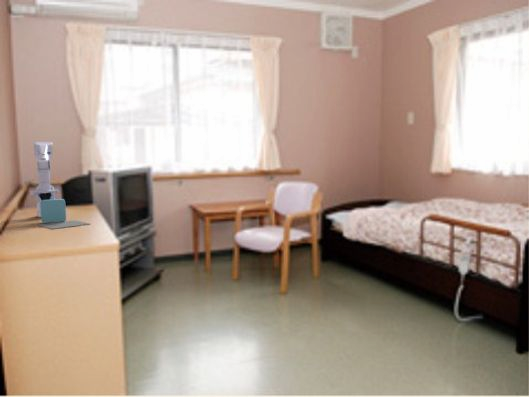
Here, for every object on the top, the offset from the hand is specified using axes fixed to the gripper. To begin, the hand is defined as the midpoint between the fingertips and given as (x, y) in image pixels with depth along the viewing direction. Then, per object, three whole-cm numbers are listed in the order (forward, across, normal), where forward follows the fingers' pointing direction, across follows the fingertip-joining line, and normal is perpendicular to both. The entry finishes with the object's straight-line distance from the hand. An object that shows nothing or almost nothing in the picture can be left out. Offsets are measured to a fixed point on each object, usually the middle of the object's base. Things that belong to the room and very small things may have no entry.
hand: (45, 207), depth 254 cm
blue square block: (+7, 0, -10) cm, 12 cm away
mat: (+7, 0, -21) cm, 22 cm away
